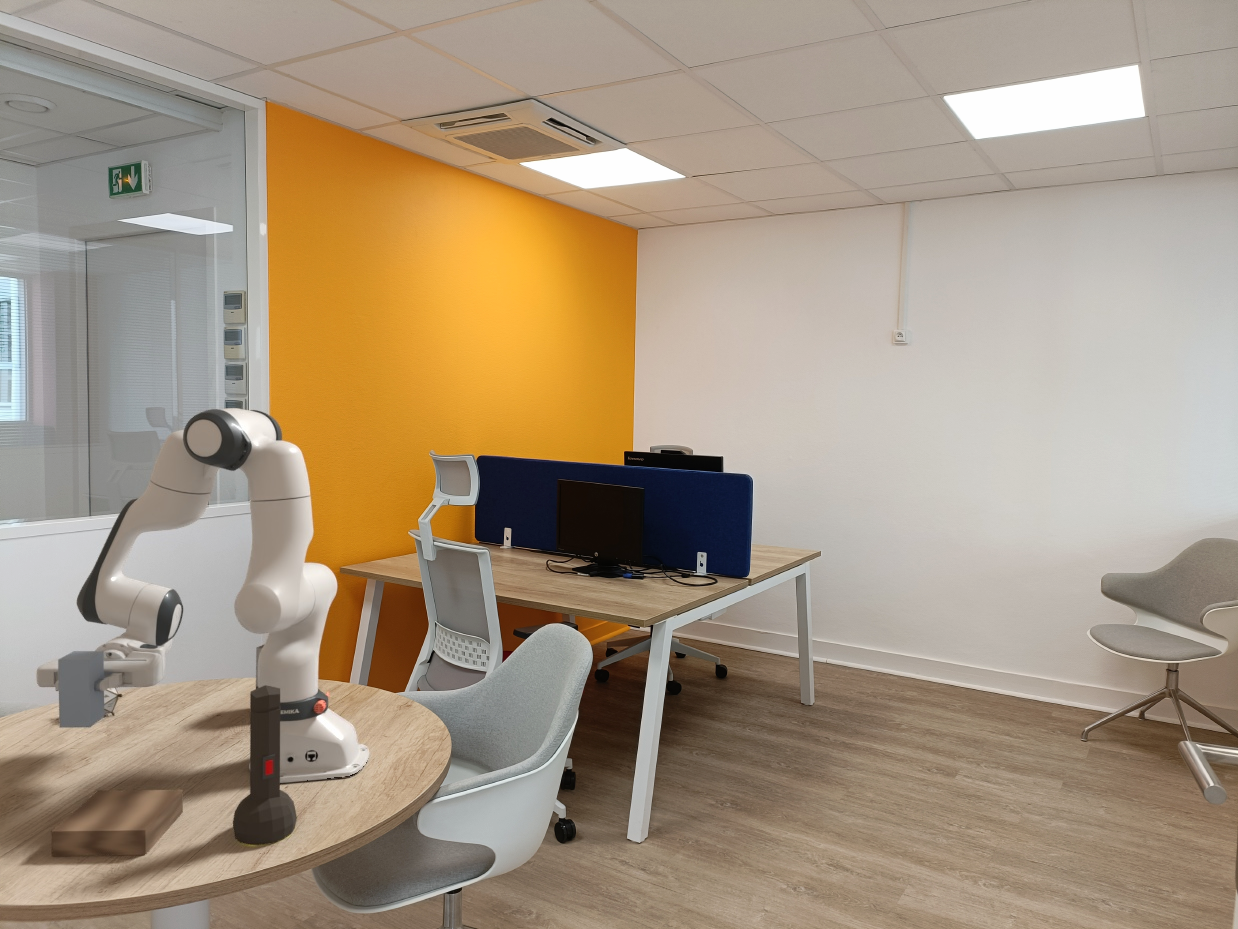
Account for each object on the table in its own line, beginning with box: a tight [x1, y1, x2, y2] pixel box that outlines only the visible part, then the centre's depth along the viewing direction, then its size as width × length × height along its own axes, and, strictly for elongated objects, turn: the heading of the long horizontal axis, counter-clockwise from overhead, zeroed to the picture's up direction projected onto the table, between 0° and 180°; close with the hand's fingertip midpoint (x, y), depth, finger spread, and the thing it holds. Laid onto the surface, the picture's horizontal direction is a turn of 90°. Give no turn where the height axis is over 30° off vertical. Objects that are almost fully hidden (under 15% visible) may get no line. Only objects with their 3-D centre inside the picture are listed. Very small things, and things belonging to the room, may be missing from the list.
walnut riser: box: [51, 789, 184, 857], centre depth 141 cm, size 14×14×4 cm
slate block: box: [57, 650, 105, 729], centre depth 150 cm, size 5×5×12 cm
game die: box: [104, 688, 123, 717], centre depth 191 cm, size 9×8×10 cm
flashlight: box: [232, 685, 298, 846], centre depth 142 cm, size 10×25×10 cm
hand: (79, 687), depth 149 cm, fingers closed on slate block, 5 cm apart
